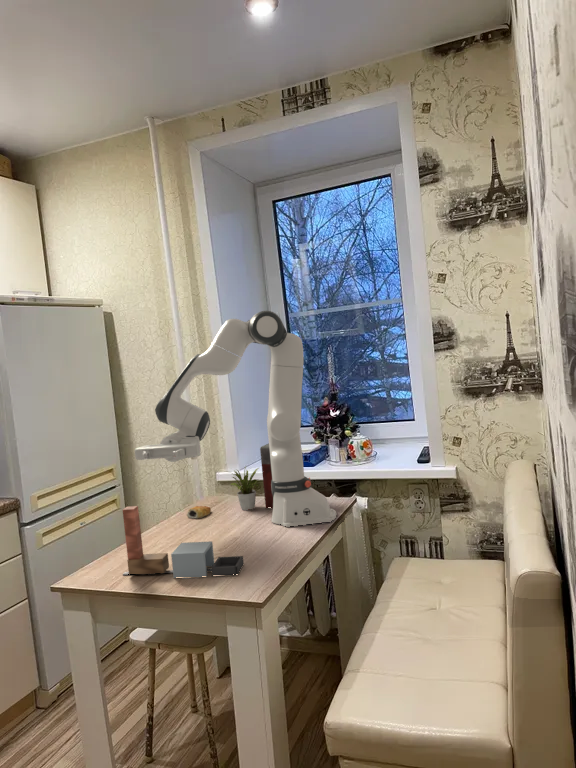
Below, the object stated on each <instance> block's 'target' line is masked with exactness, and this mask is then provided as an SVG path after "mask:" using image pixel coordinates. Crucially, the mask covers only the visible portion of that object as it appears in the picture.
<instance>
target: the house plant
mask: <svg viewBox="0 0 576 768" xmlns="http://www.w3.org/2000/svg"><path fill="white" fill-rule="evenodd" d="M250 469H252V468H249V469H247V466H245V467H244V472H243V478H242V475H241V473H240V471H239V470H238V469H236V468H235V469H234V470H233V472H234V474H233V473H232V472H231V471H227V470H226V471H224V473H225V472H227V473H231V474H230V475H233V476H232V478H233V479H234V480H235V481H236V482H237V483H236V482H232V483H230V485H233V486H232V487H237V490H238V492H237V493H236V495H237V498H238V501H239V506H240V509H242V511H249V510H248V509H252V508H254V507H255V508H256V497H257V496H256V495H257V491H256V490H255V489H254V487H255V486H256V487H259V484H258V483H257V482H258V480H260V478H258V479H256V478H255V479H253V478H254V476H255V474H256V473H257V472H258V470H259V469H260V467H257V468H256V469H255V470H253V472H252V473H251V475H250V477H249V471H250ZM239 490H240V491H239ZM255 508H254V509H255ZM252 510H253V509H252Z"/></svg>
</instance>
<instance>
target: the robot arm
mask: <svg viewBox="0 0 576 768" xmlns="http://www.w3.org/2000/svg"><path fill="white" fill-rule="evenodd" d="M252 343H254V344H259V345H265V346H266V345H267V346H268V347H269V349H270V352H271V359H270V372H269V373H270V375H269V386H268V387H269V388H268V389H269V391H268V407H267V408H268V410H267V417H266V425H267V426H266V427H267V437H268V438H267V439H268V444H269V449H270V460H271V470H272V480H271V488H272V495H273V509H272V513H271V514H272V516H271V520H270V521H271V523H273V524H276V525H280V524H281V526H283V527H285V526H286V527H285V528H291V527H290V526H294V527H299V526H298V525H303V526H306V525H305V524H312V525H314V524H313V523H320V522H330V521H332V520H334V519H335V518H336V519H337V517H336V515H337V511H336V510H335V509H333V508H331V507H330V503H329V500H328V499H327V497H326V496H325V495H324V494H323V493H320V492H319V491H318V490H316V489H314V488H313V487H312V481H311V477H308V476H305V470H304V457H303V451H302V442H301V435H300V430H301V428H302V427H301V425H302V398H303V397H302V393H303V392H302V391H303V378H304V377H303V375H304V348H303V347H304V346H303V340H302V338H301V337H300V336H298V335H297V334H295V333H292V332H291V333H290V332H288V331H287V329H286V328H285V325H284V323H283V321H282V319H281V317H280V316H279V315H278V314H277V313H275V312H273V311H271V310H262V311H259V312H257V313H255V314H253V316H252V317H251V318H250V319H248V320H247V321H243V320H241V319H237V318H229V319H227V320H225V321H224V323H223V324H222V326H221V327H220V328H219V330H218V332H217V333H216V335H215V337H214V338H213V340H212V342H211V344H210V345H209V347H208V348H207V349H206V351H204V352H203V353H197V354H195V355H194V356H193V357H192V358H191V359H190V361H188V363H187V364H186V365H185V367H184V368H183V369H182V371H181V372H180V374H179V375H178V376H177V378H176V379H175V381H174V382H173V383H172V384H171V386H170V387H169V389H168V390H167V391H166V392H165V394H163V396H162V397H161V398H160V400H159V401H158V402H157V404H156V406H155V409H154V411H155V415H156V418H157V420H158V421H159V422H161V423H164V424H166V425H170V426H171V427H173V428H174V429H177V431H175V432H173V433H171V434H168V435H166V436H165V437H163V438H162V440H161V441H160V444H159V443H158V444H146V445H142V446H139V447H136V448H134V458H135V460H137V461H144V460H156V459H158V460H159V459H164V460H166V461H168V462H170V463H171V462H173V463H176V462H179V461H180V460H181V461H183V460H185V459H190V458H197V457H199V456H201V441H203V439H204V438H205V436H206V435H207V433H208V430H209V428H210V425H211V419H210V415H209V412H208V411H207V410H205V409H203V408H201V407H200V406H197V405H195V404H193V403H191V402H189V401H187V400H185V399H183V398H182V395H183V393H184V392H185V390H186V389H187V388H188V387H189V385H190V383H191V382H192V381H193V379H194V378H196V377H197V376H199V375H211V376H225V375H230V374H231V373H233V372H234V371H235V370H236V368H237V367H238V365H239V363H240V362H241V360H242V357H243V356H244V354H245V352H246V349H247V348H248V346H249V345H251V344H252ZM337 516H338V515H337ZM336 519H335V520H336ZM335 520H334V521H335ZM332 522H333V521H332ZM330 523H331V522H330Z"/></svg>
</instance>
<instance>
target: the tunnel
mask: <svg viewBox="0 0 576 768" xmlns="http://www.w3.org/2000/svg"><path fill="white" fill-rule="evenodd" d="M213 544H214V543H213V541H212V540H211V541H210V540H209V541H194V542H193V541H192V542H181V543H180V544H179V545H178V546H177V547H176V548H175V549H174V551H173V552H171V554H170V555H171V556H170V557H171V563H172V564H171V566H172V570H173V575H172V576H173V579H174V578H176V577H202V576H207V577H208V572H207V569H208V568H207V567H206V566H209V567H212V566H213V565H214V563H215V556H214V555H215V554H214V545H213Z"/></svg>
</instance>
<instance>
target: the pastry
mask: <svg viewBox="0 0 576 768" xmlns="http://www.w3.org/2000/svg"><path fill="white" fill-rule="evenodd" d="M211 512H212V509H211V507H209V506H206V505H200V506H199V505H196V506H193V507H191V508H189V509H188V511H187V513H186V516H187V518H189V519H196V520H197V519H202V518H204V517H207V516H209V515H210V514H211Z"/></svg>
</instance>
